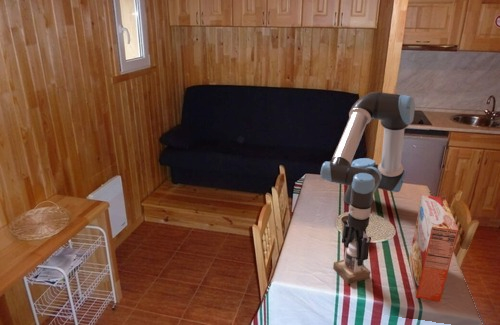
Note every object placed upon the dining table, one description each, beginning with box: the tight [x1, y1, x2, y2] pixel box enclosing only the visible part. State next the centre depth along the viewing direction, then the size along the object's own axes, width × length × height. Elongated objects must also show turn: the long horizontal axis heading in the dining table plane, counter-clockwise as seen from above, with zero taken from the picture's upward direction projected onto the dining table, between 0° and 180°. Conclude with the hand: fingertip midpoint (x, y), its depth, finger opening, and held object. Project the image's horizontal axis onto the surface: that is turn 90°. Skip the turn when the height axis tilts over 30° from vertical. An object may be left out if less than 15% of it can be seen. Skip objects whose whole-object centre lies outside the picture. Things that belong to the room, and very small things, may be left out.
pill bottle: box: [345, 241, 357, 271], centre depth 149 cm, size 6×6×10 cm
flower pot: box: [339, 214, 355, 241], centre depth 173 cm, size 9×9×9 cm
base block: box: [332, 259, 371, 285], centre depth 151 cm, size 10×10×3 cm
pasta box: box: [408, 194, 459, 302], centre depth 143 cm, size 23×8×30 cm, turn 166°
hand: (352, 266), depth 150 cm, fingers closed on pill bottle, 6 cm apart
